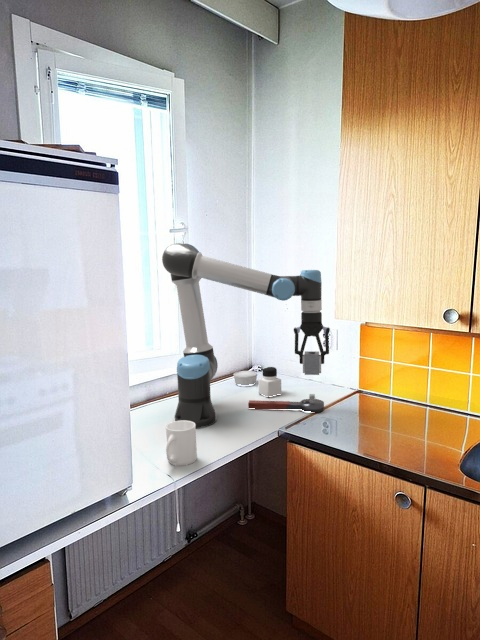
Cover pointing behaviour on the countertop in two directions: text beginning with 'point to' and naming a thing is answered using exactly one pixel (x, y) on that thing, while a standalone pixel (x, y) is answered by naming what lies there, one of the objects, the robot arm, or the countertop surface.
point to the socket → (311, 362)
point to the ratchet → (290, 404)
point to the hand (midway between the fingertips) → (312, 372)
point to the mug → (181, 442)
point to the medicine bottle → (269, 382)
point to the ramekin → (245, 377)
